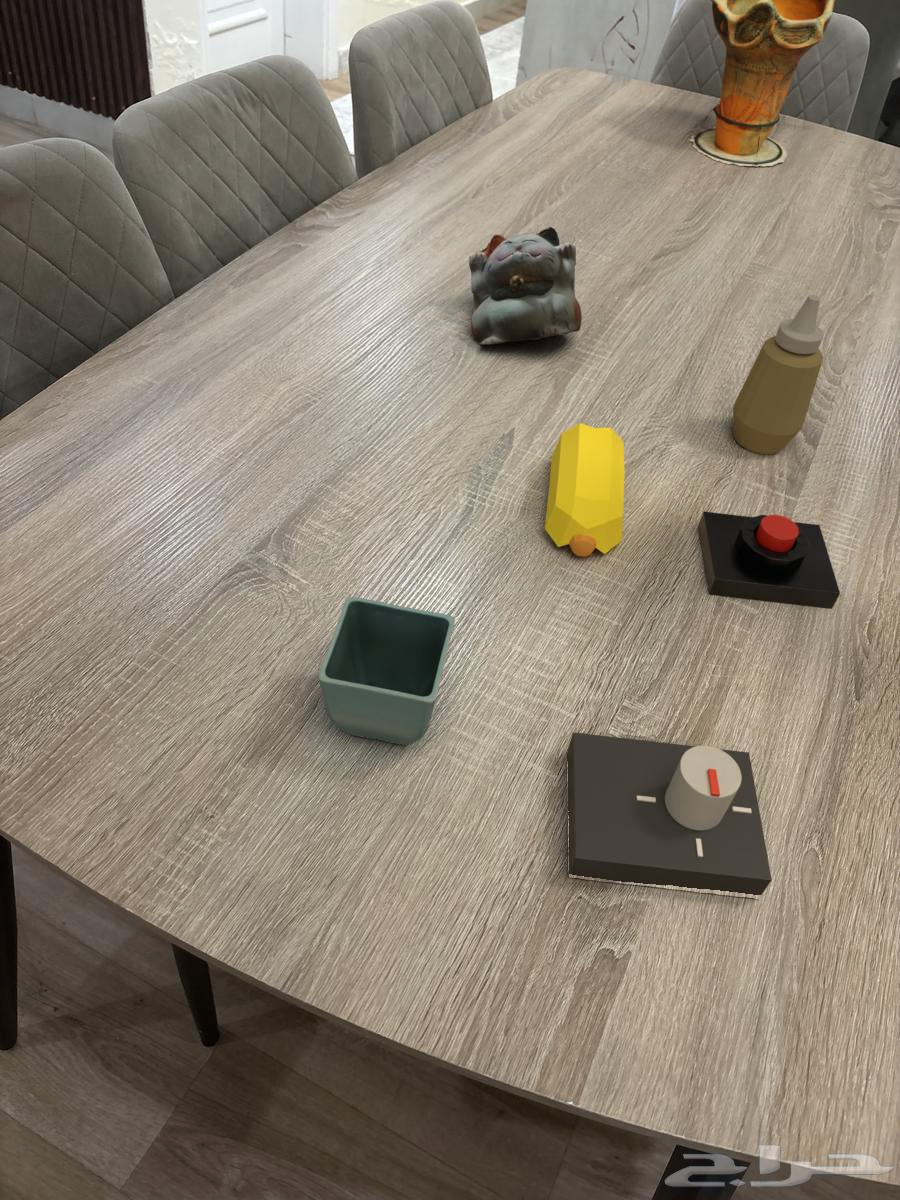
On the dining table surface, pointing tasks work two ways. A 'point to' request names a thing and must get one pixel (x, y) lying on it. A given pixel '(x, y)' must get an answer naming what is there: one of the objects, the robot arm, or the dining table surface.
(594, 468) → the yellow faceted bar
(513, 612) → the dining table surface
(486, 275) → the lucky cat figurine
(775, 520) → the button
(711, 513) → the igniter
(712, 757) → the burner knob
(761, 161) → the decorative vase
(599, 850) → the panel
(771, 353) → the squeeze bottle
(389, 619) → the flower pot
